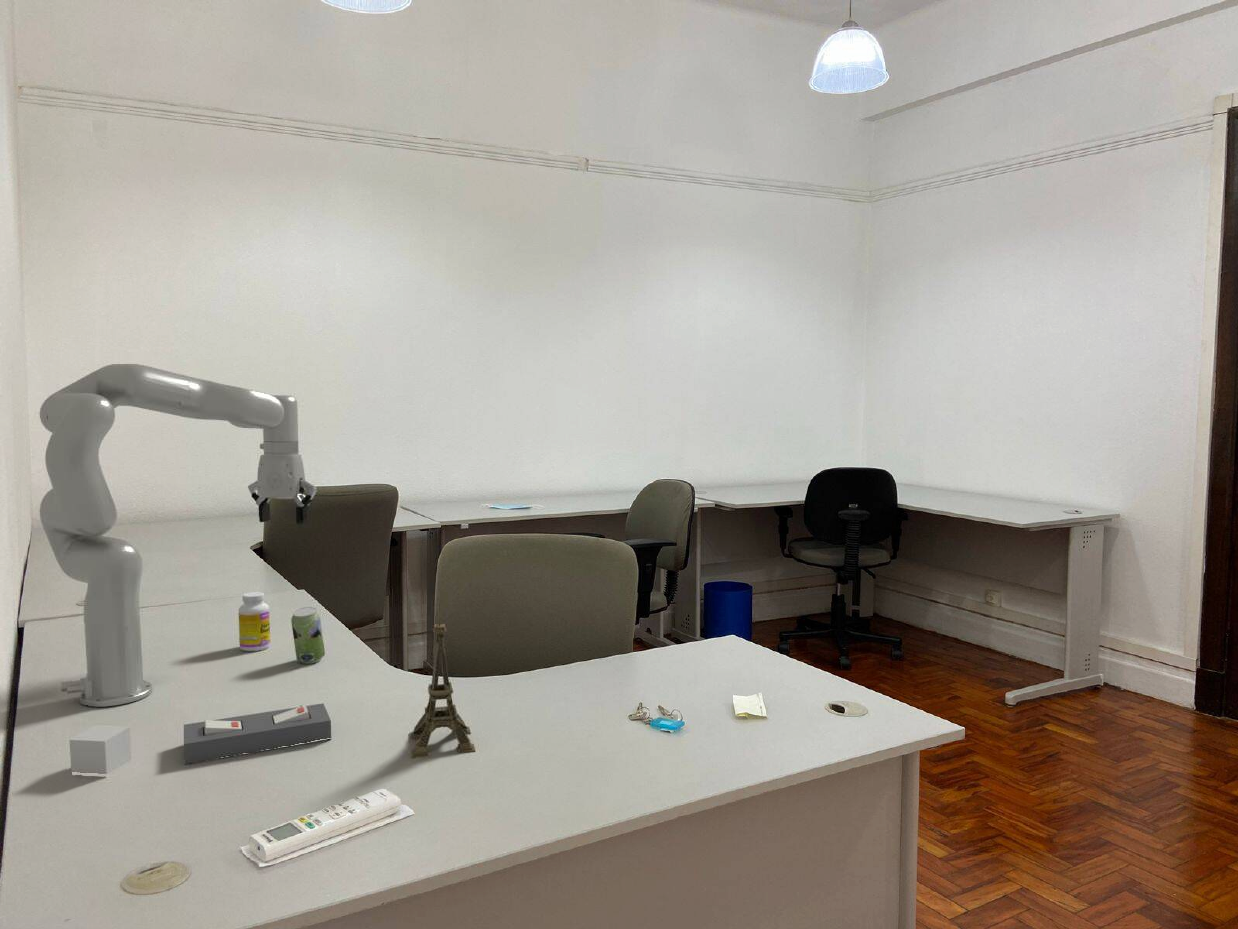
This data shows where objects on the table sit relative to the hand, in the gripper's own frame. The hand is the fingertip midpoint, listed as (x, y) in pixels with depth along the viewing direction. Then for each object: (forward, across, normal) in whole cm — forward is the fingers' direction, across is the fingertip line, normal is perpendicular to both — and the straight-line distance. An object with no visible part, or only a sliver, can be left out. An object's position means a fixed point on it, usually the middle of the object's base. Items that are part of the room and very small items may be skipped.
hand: (283, 522), depth 205 cm
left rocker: (+26, +24, -53) cm, 64 cm away
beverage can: (+30, +12, -9) cm, 33 cm away
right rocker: (+26, +32, -46) cm, 62 cm away
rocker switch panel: (+30, +26, -47) cm, 61 cm away
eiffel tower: (+30, +59, -42) cm, 78 cm away
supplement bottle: (+30, -6, -3) cm, 31 cm away
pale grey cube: (+30, +10, -65) cm, 72 cm away
